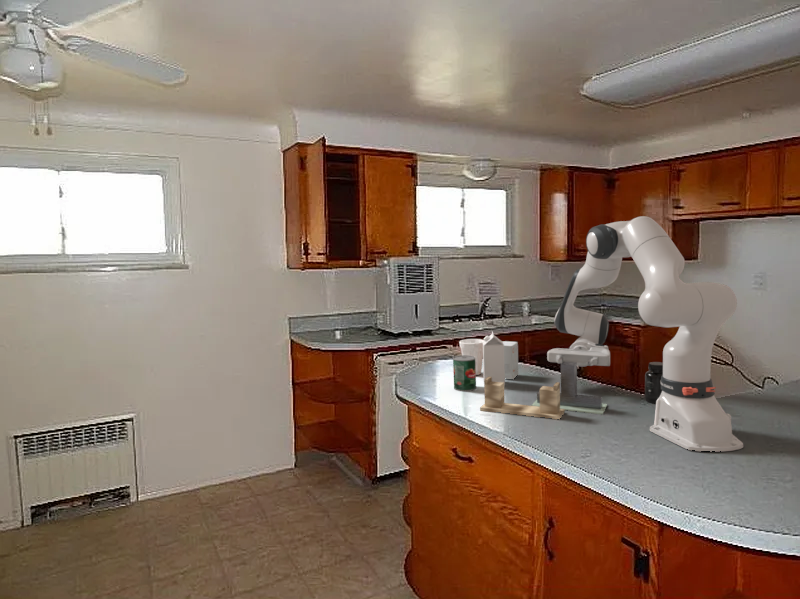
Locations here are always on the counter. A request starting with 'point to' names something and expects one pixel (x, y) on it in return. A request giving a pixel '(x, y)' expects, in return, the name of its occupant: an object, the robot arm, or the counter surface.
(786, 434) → the counter surface
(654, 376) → the supplement bottle
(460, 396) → the counter surface
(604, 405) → the mat
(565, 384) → the grey inverted t block
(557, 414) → the stand
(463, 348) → the cup
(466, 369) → the canned tomato
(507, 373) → the small box
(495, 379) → the milk carton
